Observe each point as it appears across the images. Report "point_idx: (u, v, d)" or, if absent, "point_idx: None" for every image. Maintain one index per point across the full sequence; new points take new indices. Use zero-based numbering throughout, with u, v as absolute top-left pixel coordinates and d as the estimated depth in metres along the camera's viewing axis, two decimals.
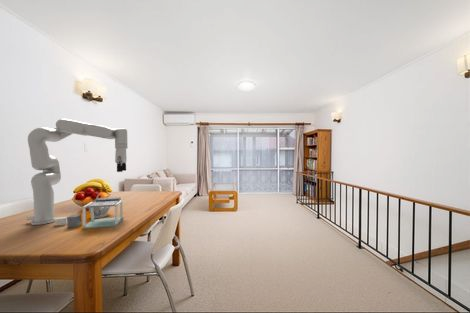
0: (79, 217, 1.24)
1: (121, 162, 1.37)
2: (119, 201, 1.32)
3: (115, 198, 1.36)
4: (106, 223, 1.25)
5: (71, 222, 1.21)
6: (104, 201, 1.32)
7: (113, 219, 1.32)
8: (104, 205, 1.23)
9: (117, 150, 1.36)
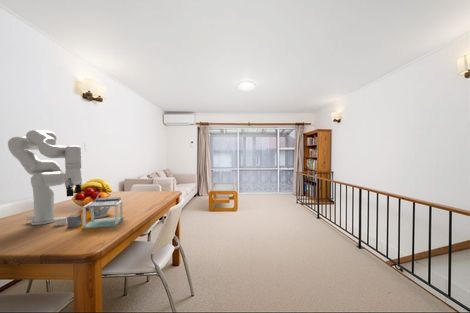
0: (79, 217, 1.24)
1: (72, 185, 1.18)
2: (119, 201, 1.32)
3: (115, 198, 1.36)
4: (106, 223, 1.25)
5: (71, 222, 1.21)
6: (104, 201, 1.32)
7: (113, 219, 1.32)
8: (104, 205, 1.23)
9: (67, 171, 1.18)
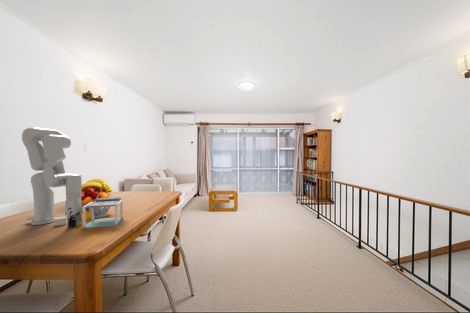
0: (79, 217, 1.24)
1: (73, 215, 1.20)
2: (119, 201, 1.32)
3: (115, 198, 1.36)
4: (106, 223, 1.25)
5: None
6: (104, 201, 1.32)
7: (113, 219, 1.32)
8: (104, 205, 1.23)
9: (67, 201, 1.18)
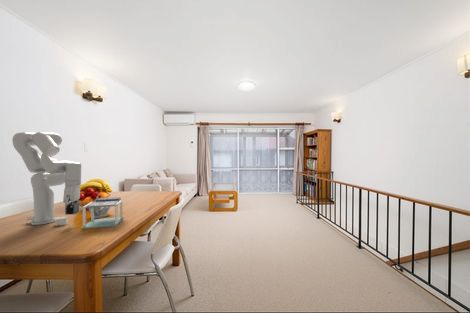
0: (77, 205, 1.25)
1: (71, 203, 1.20)
2: (119, 201, 1.32)
3: (115, 198, 1.36)
4: (106, 223, 1.25)
5: None
6: (104, 201, 1.32)
7: (113, 219, 1.32)
8: (104, 205, 1.23)
9: (66, 188, 1.18)
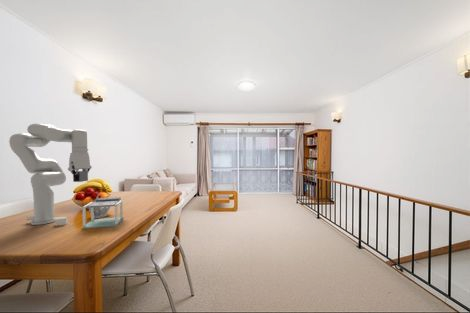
0: (84, 173, 1.23)
1: (76, 170, 1.19)
2: (119, 201, 1.32)
3: (115, 198, 1.36)
4: (106, 223, 1.25)
5: None
6: (104, 201, 1.32)
7: (113, 219, 1.32)
8: (104, 205, 1.23)
9: (70, 155, 1.19)
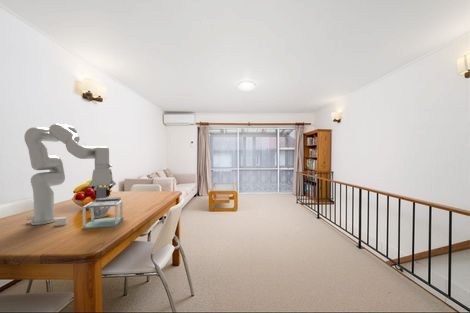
0: (101, 190, 1.23)
1: (94, 186, 1.23)
2: (119, 201, 1.32)
3: (115, 198, 1.36)
4: (106, 223, 1.25)
5: None
6: (104, 201, 1.32)
7: (113, 219, 1.32)
8: (104, 205, 1.23)
9: None
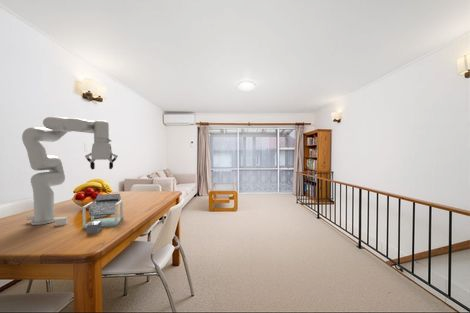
0: (96, 222, 1.15)
1: (91, 159, 1.23)
2: (119, 201, 1.32)
3: (114, 197, 1.35)
4: (106, 223, 1.25)
5: None
6: (104, 202, 1.32)
7: (113, 219, 1.32)
8: (105, 214, 1.24)
9: None
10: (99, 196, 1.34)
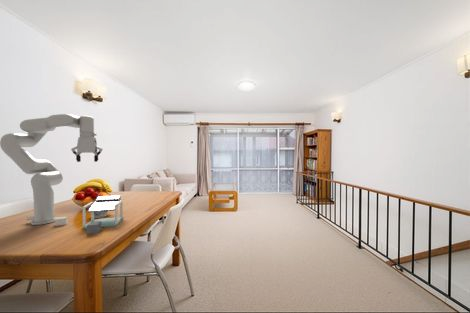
0: (96, 222, 1.15)
1: (77, 152, 1.30)
2: (119, 201, 1.32)
3: (115, 197, 1.35)
4: (106, 223, 1.25)
5: None
6: (104, 201, 1.32)
7: (113, 219, 1.32)
8: (104, 210, 1.23)
9: None
10: (99, 197, 1.35)
